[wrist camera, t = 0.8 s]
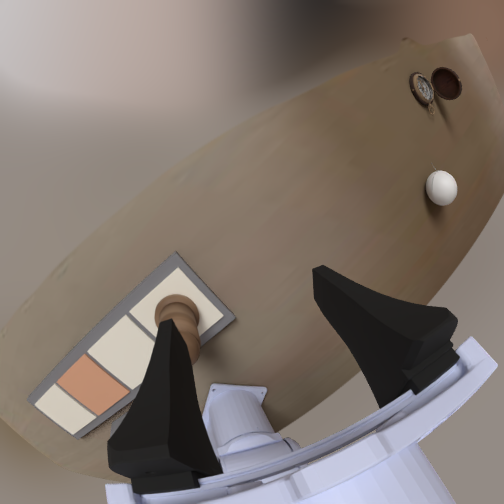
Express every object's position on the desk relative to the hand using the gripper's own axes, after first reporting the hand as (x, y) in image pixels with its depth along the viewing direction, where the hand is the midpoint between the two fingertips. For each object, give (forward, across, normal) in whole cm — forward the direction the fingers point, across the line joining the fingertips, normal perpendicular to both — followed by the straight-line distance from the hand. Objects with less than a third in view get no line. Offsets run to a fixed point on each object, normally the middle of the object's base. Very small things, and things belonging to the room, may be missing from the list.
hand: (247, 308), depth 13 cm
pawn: (+13, +6, +10) cm, 18 cm away
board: (+12, +18, +15) cm, 26 cm away
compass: (+23, -41, -7) cm, 47 cm away
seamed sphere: (+18, -35, +7) cm, 40 cm away
